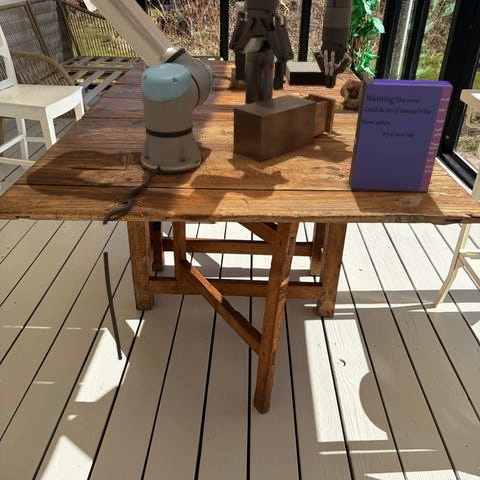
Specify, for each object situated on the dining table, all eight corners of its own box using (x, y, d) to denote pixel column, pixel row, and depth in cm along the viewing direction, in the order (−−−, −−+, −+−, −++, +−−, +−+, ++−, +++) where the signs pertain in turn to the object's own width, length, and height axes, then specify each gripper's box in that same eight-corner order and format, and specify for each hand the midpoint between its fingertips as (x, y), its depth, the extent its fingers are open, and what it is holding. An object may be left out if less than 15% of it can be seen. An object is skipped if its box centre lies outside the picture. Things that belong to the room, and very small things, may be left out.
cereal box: (422, 183, 114) (445, 80, 101) (427, 192, 110) (453, 85, 97) (348, 180, 115) (363, 77, 102) (351, 189, 111) (366, 83, 98)
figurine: (210, 87, 179) (288, 95, 182) (212, 65, 176) (291, 73, 180) (208, 84, 201) (278, 91, 205) (210, 64, 198) (280, 71, 202)
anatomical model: (349, 110, 180) (352, 112, 166) (333, 93, 179) (334, 95, 165) (374, 84, 176) (379, 84, 162) (358, 67, 175) (361, 66, 161)
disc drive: (289, 84, 198) (290, 71, 196) (284, 72, 218) (284, 61, 215) (331, 84, 199) (332, 72, 196) (322, 72, 218) (323, 61, 215)
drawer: (319, 121, 152) (323, 89, 147) (343, 128, 146) (348, 96, 141) (262, 139, 137) (263, 104, 132) (286, 148, 131) (288, 112, 126)
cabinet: (285, 134, 144) (288, 94, 138) (313, 143, 137) (317, 101, 131) (233, 150, 131) (233, 107, 125) (260, 161, 125) (262, 116, 119)
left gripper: (314, -7, 104) (306, 91, 115) (237, -14, 120) (236, 74, 131) (291, -6, 100) (285, 96, 111) (214, -13, 115) (215, 78, 126)
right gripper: (364, 25, 130) (355, 90, 139) (326, 21, 139) (320, 82, 147) (348, 28, 126) (340, 94, 135) (309, 23, 134) (304, 86, 143)
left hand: (258, 84), depth 121 cm, fingers open, 13 cm apart
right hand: (329, 88), depth 141 cm, fingers closed
